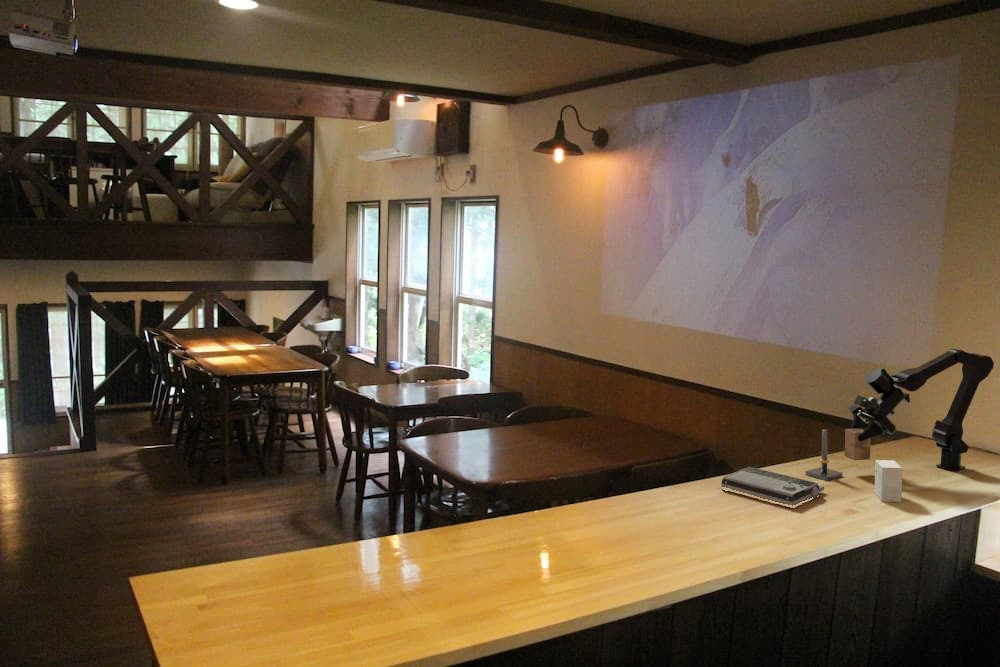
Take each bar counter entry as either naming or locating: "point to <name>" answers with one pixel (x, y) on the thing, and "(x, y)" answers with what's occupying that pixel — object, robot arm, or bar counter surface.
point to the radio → (772, 486)
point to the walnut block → (856, 445)
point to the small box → (888, 481)
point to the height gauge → (824, 463)
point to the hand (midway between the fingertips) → (853, 438)
